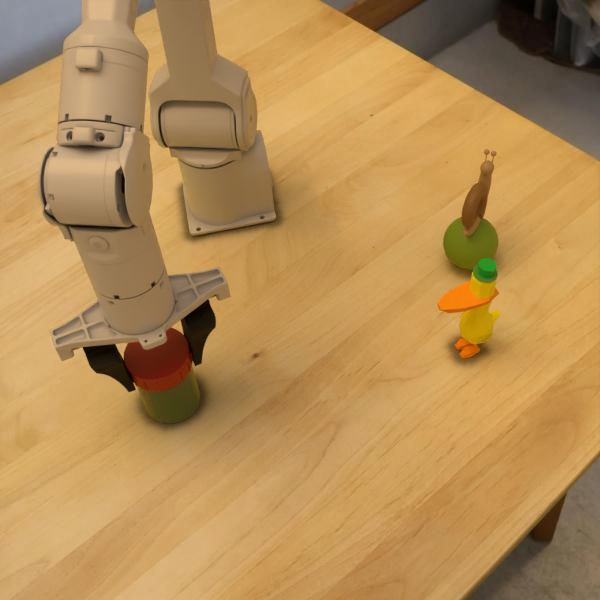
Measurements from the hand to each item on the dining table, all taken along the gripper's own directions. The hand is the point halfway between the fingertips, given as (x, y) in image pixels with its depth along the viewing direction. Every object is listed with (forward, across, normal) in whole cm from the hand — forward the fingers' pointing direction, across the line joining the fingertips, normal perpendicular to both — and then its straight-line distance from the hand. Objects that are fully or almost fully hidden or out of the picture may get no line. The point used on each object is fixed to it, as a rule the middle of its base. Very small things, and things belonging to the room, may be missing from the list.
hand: (161, 369), depth 76 cm
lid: (-2, 0, 0) cm, 2 cm away
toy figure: (+5, +27, -7) cm, 29 cm away
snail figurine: (+5, +34, +3) cm, 34 cm away
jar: (+5, 0, 0) cm, 5 cm away
